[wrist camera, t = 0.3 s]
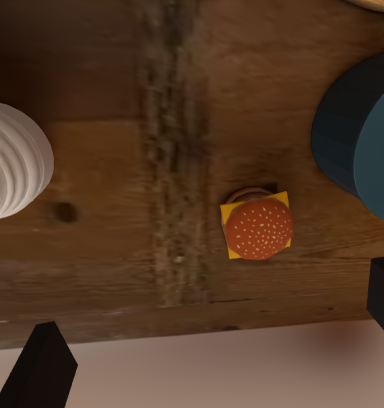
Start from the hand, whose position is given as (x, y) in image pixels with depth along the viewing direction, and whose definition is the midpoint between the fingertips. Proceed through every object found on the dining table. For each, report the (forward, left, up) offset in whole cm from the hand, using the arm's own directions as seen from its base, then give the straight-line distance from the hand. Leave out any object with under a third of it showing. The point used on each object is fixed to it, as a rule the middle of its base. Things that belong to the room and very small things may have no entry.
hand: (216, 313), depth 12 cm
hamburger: (+12, +7, -28) cm, 31 cm away
